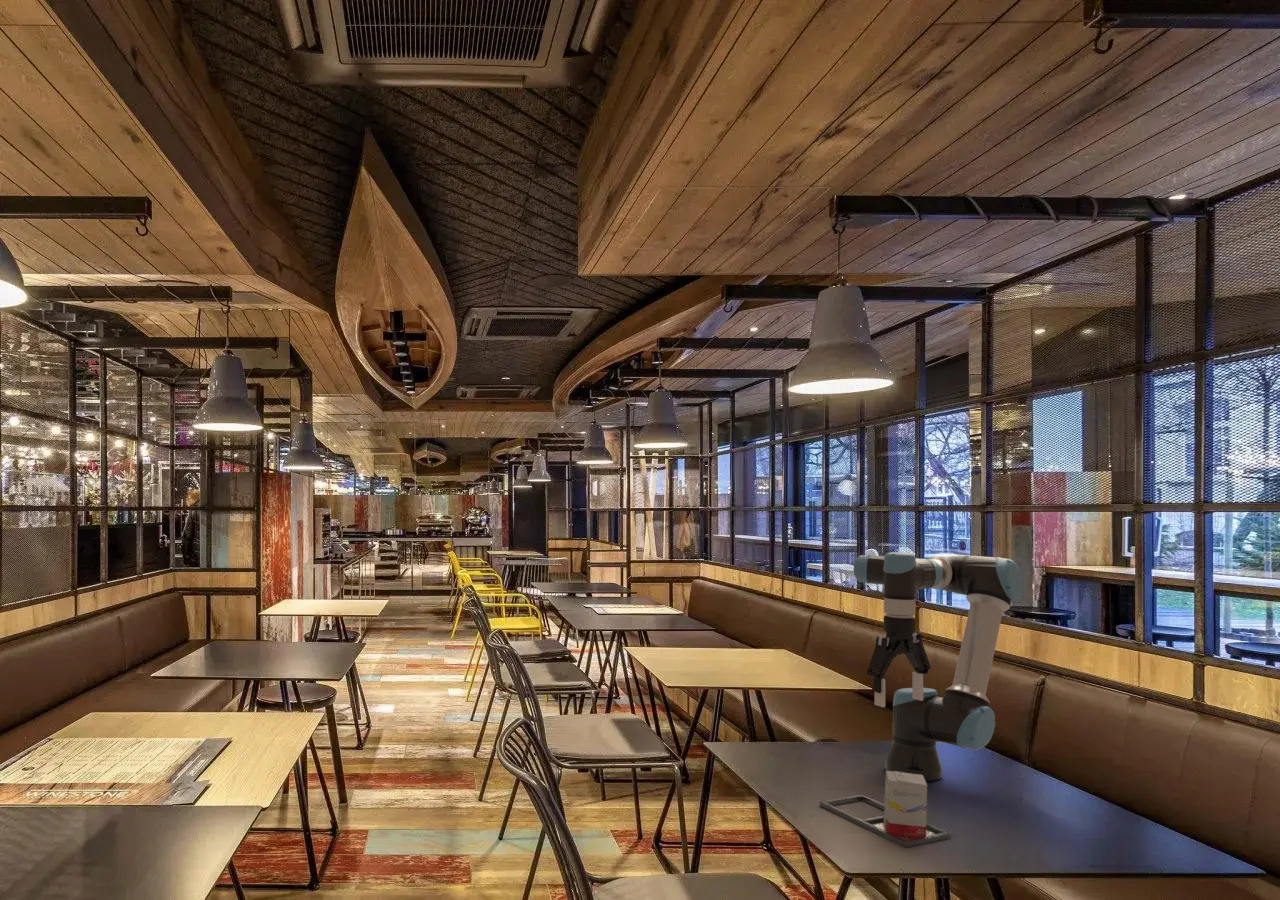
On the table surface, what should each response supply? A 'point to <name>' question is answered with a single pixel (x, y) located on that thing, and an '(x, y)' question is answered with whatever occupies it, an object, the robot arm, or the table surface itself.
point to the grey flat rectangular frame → (880, 827)
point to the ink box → (905, 804)
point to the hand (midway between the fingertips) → (899, 702)
